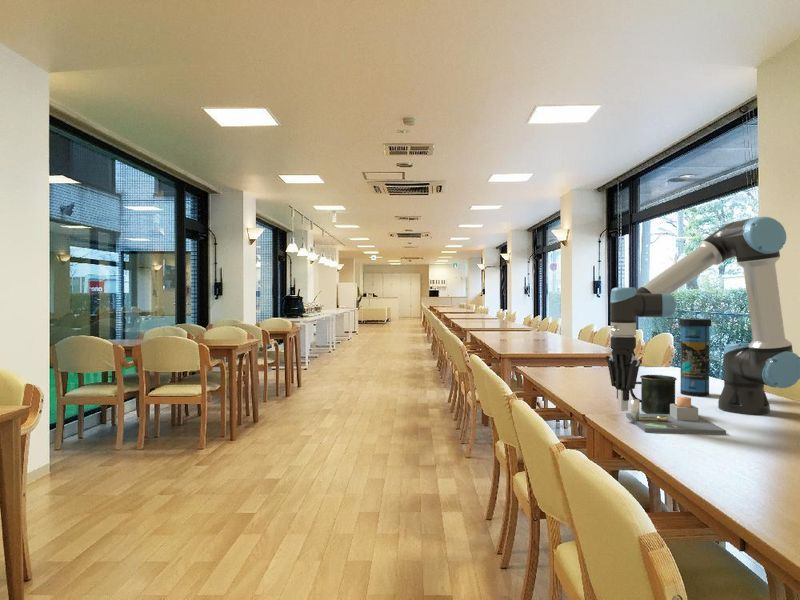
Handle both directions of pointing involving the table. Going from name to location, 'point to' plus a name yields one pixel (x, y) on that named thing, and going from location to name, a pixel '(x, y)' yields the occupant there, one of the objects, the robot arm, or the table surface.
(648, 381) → the mug
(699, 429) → the tuner board
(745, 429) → the table surface
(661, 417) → the brass ball-ended crank
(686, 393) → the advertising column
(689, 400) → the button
